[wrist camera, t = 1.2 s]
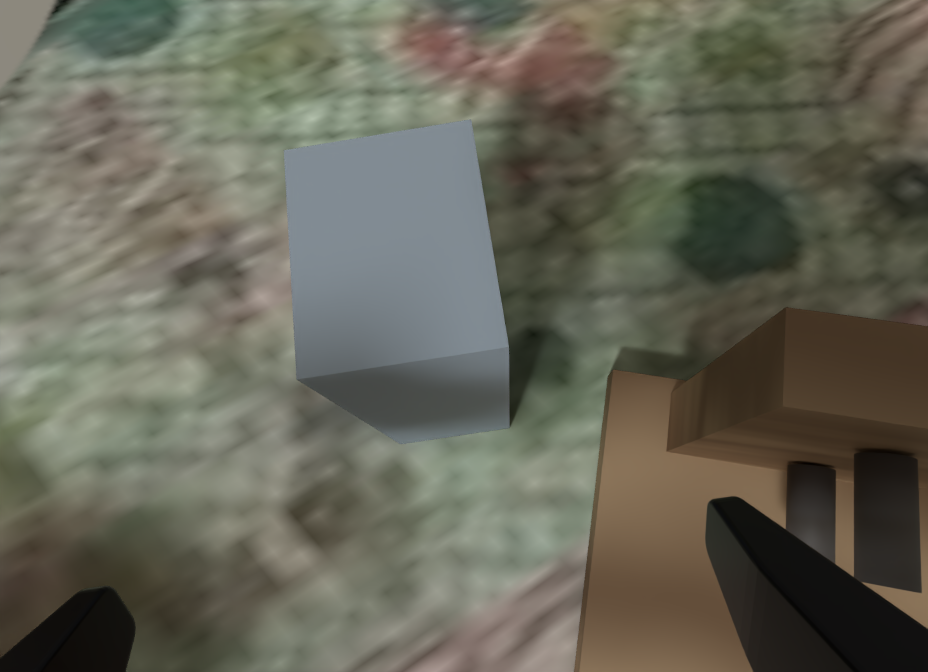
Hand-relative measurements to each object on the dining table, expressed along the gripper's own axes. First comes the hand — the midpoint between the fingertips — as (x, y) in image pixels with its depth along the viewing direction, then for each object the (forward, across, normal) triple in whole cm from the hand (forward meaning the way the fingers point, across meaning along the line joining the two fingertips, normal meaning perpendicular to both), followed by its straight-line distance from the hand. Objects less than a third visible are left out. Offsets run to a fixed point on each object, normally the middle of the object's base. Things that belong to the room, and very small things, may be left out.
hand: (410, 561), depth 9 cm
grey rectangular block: (+13, 0, +4) cm, 14 cm away
